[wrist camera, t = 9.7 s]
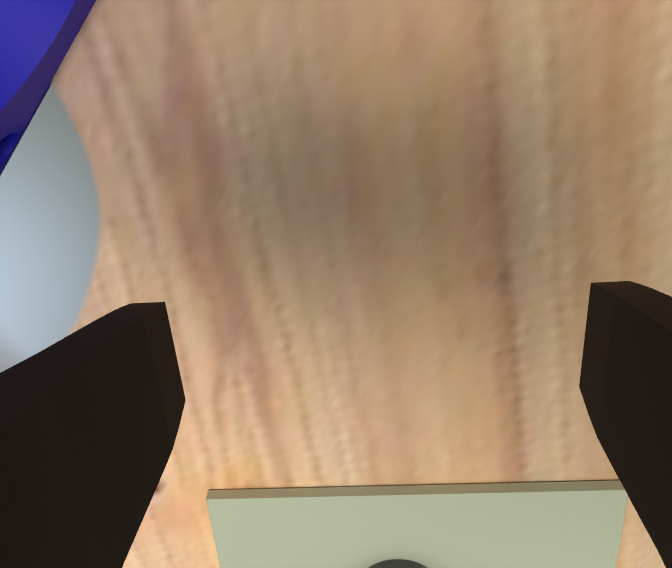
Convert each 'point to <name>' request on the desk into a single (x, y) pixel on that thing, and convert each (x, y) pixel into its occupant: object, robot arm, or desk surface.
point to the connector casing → (397, 564)
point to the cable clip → (31, 59)
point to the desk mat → (421, 525)
